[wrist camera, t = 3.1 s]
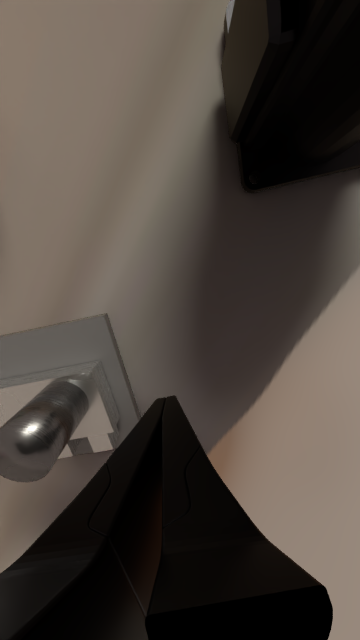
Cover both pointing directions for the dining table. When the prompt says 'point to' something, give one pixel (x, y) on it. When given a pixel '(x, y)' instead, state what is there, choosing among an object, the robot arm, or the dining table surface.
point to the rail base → (73, 361)
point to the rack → (54, 418)
